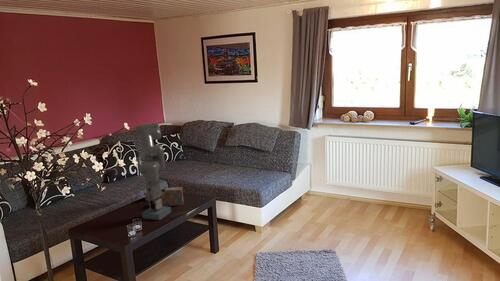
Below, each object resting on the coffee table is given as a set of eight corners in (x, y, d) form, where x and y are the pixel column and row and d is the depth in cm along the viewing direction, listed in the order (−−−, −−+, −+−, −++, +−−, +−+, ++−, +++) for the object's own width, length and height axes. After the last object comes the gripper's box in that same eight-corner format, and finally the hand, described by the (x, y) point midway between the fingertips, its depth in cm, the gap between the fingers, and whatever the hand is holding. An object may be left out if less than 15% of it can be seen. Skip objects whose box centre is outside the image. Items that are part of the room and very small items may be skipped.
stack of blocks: (154, 206, 281) (152, 191, 278) (156, 204, 287) (154, 188, 285) (182, 205, 280) (180, 189, 278) (184, 202, 286) (182, 186, 284)
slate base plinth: (142, 218, 260) (141, 212, 259) (154, 210, 272) (154, 205, 272) (159, 220, 254) (158, 214, 254) (171, 212, 267) (170, 207, 266)
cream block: (149, 209, 261) (148, 201, 260) (155, 206, 266) (154, 198, 265) (157, 209, 258) (156, 201, 257) (162, 206, 264) (161, 198, 263)
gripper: (149, 186, 250) (152, 212, 253) (164, 178, 265) (167, 203, 269) (140, 185, 252) (143, 211, 256) (156, 178, 268) (158, 202, 271)
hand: (156, 206), depth 262 cm, fingers closed on cream block, 5 cm apart
